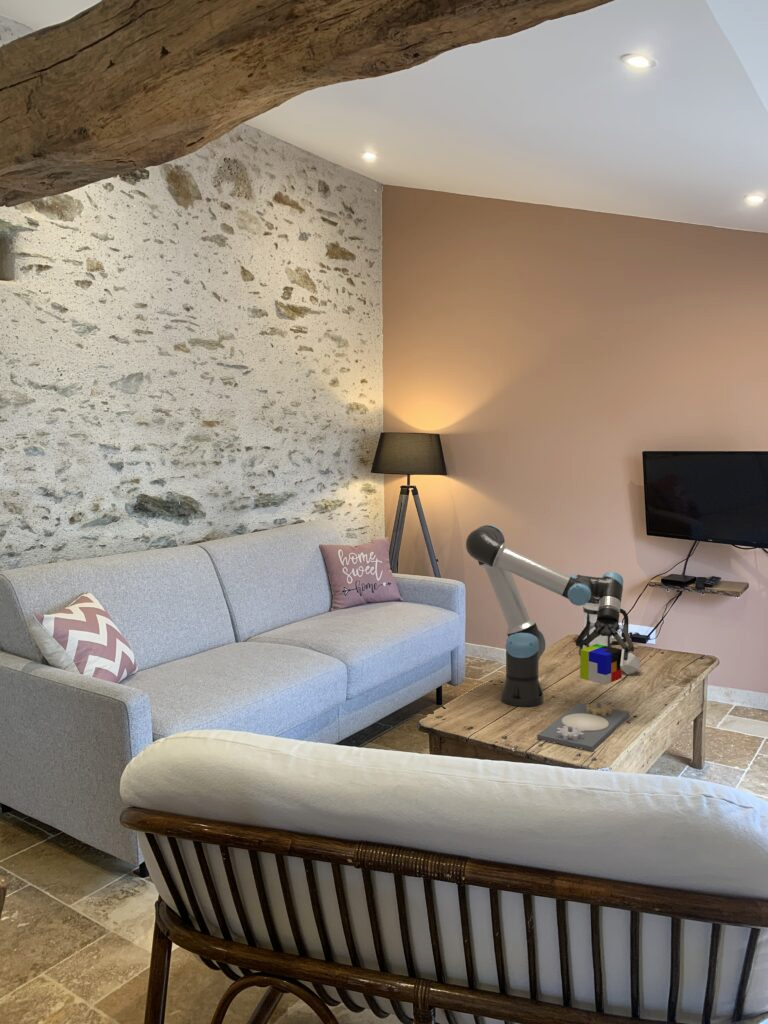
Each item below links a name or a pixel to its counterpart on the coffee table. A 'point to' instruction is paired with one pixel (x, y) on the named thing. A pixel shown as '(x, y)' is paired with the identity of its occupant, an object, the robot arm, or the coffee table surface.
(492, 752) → the coffee table surface
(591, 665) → the puzzle toy
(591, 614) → the coffee press
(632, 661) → the die
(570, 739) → the gear board
